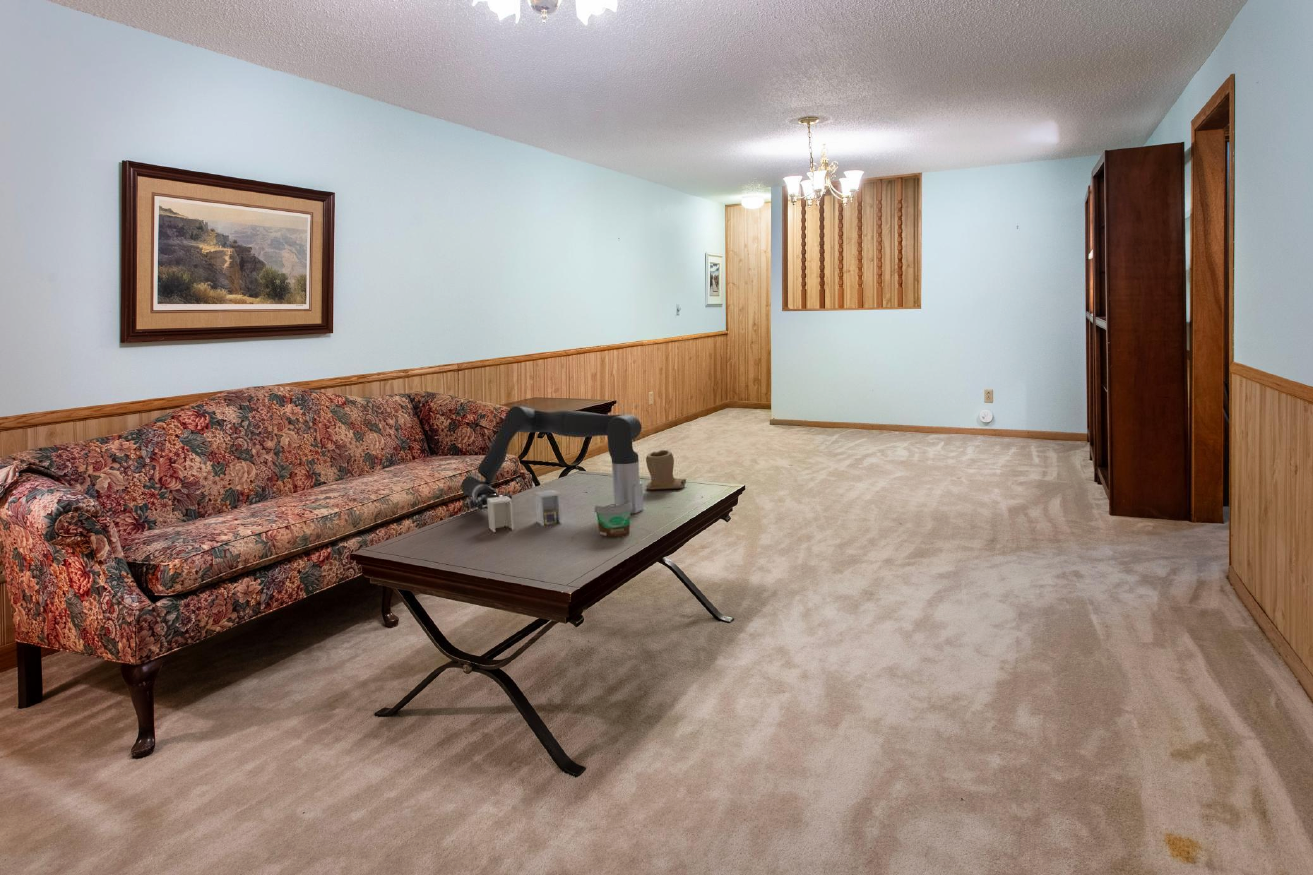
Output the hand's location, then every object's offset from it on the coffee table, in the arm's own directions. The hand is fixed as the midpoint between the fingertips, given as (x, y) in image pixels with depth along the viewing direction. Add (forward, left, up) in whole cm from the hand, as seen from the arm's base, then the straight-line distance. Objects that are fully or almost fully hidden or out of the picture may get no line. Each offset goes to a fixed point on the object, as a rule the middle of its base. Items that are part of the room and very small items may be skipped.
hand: (494, 504), depth 283 cm
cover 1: (-6, +6, -6) cm, 11 cm away
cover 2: (-17, -6, -6) cm, 19 cm away
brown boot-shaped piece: (-34, -63, -7) cm, 72 cm away
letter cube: (-17, -6, -7) cm, 19 cm away
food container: (-48, +3, -7) cm, 48 cm away
